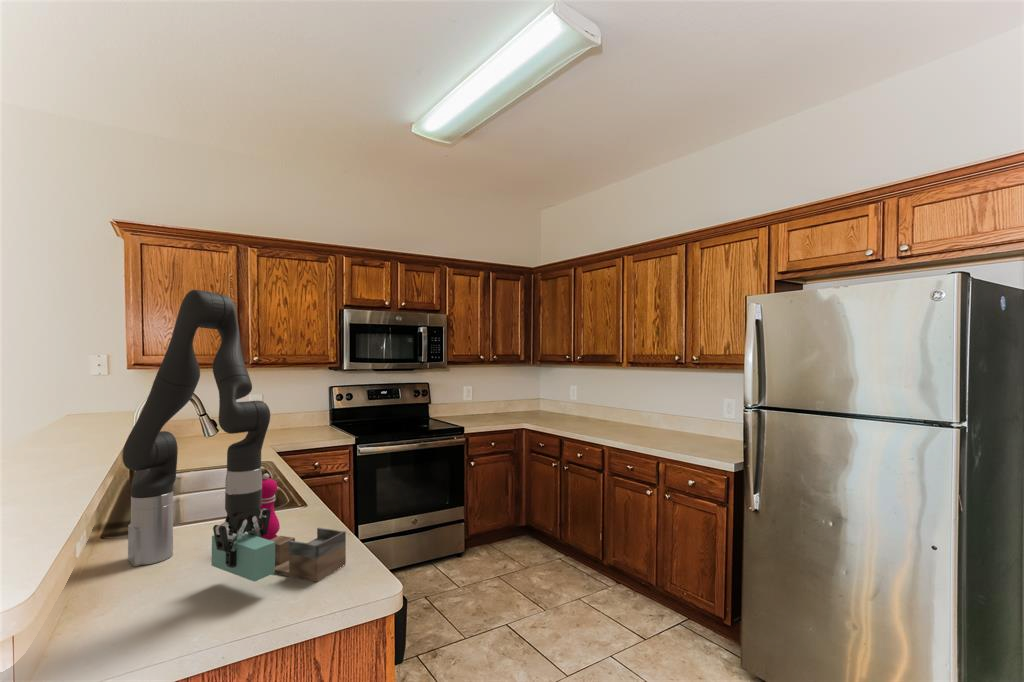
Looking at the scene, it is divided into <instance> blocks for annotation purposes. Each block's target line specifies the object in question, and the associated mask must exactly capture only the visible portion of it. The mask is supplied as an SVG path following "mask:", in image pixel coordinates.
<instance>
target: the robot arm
mask: <svg viewBox="0 0 1024 682" xmlns="http://www.w3.org/2000/svg"><path fill="white" fill-rule="evenodd" d="M236 308H237V307H236V305H235V302H234V300H233V299H232V298H231V297H230V296H229V295H225V294H221V293H217V292H212V291H211V292H210V291H205V290H202V289H201V290H200V289H192V290H190V291H188V292H187V293H186V295H185V296H184V298H183V299H182V301H181V304H180V307H179V309H178V313H177V317H176V321H175V324H174V327H173V331H172V335H171V337H170V340H169V344H168V346H167V349H166V352H165V353H164V357H163V359H162V361H161V363H160V366H159V368H158V371H157V373H156V375H155V378H154V380H153V382H152V385H151V389H150V391H149V394H148V396H147V398H146V401H145V403H144V406H143V408H142V410H141V412H140V414H139V417H138V418H137V421H136V422H135V424H134V426H133V428H132V429H131V431H130V433H129V435H128V437H127V439H126V441H125V443H124V446H123V450H122V462H123V465H124V466H125V468H127V469H128V470H130V471H133V472H134V471H139V470H145V469H150V470H149V472H148V473H147V474H146V475H145V476H144V477H143V478H142V479H140V480H139V481H137V482H136V483H134V484H133V485H132V487H131V486H130V523H129V524H128V526H127V531H128V532H127V535H128V536H127V560H128V562H129V563H130V564H131V565H132V566H133V567H137V566H144V565H151V564H156V563H157V564H158V563H160V562H163V561H165V560H167V559H169V558H171V557H172V556H173V555H174V485H175V483H176V482H175V481H176V478H177V470H178V467H177V466H178V453H179V452H178V449H179V448H178V442H177V438H176V437H175V435H174V434H173V433H172V432H170V431H165V430H164V431H162V429H163V427H164V426H166V424H167V423H168V422H169V421H170V420H171V419H172V418H173V417H174V416H175V415H177V413H179V412H180V410H182V409H183V408H184V407H185V406H186V405H187V404H188V403H189V402H190V400H191V399H192V397H193V396H194V393H195V392H196V391H195V390H196V388H197V385H198V383H199V381H200V378H201V368H200V365H199V361H198V360H197V357H196V354H195V350H194V339H195V336H196V333H197V330H198V329H199V328H202V329H210V330H216V331H217V333H219V337H220V345H219V347H218V350H217V352H216V353H215V356H214V357H213V362H212V373H213V376H214V381H215V383H216V387H217V389H218V396H219V397H218V398H219V405H218V409H219V410H218V425H219V426H220V428H221V429H222V430H223V432H225V433H226V434H232V435H233V434H234V435H235V434H240V433H246V435H245V437H244V438H243V439H242V440H240V441H237V442H234V443H232V444H230V445H229V446H228V447H227V451H226V453H227V454H226V475H225V480H224V481H225V483H224V484H225V486H224V487H225V488H224V489H225V491H224V493H225V495H224V497H225V498H224V510H225V512H226V518H225V520H224V522H222V523H220V524H214V525H213V528H212V530H213V535H214V536H215V542H216V547H217V550H221V551H225V552H226V559H225V560H226V561H225V563H226V565H227V566H228V567H231V568H234V567H236V561H237V551H236V548H237V544H238V542H239V541H240V540H241V538H242V534H244V533H247V534H248V535H254V536H257V537H260V538H261V537H262V536H263V535H266V534H267V532H268V526H269V520H270V514H271V510H270V509H264V508H261V509H260V507H261V505H262V479H263V478H262V477H263V473H262V451H263V450H262V449H263V445H264V442H265V438H266V434H267V432H268V428H269V424H270V423H271V422H270V421H271V410H270V408H269V406H268V403H266V402H264V401H262V400H250V401H249V400H248V401H237V400H240V399H243V398H244V397H247V396H248V395H250V393H251V392H252V390H253V385H252V384H253V383H252V381H251V378H250V374H249V372H248V369H247V366H246V363H245V360H244V357H243V350H242V344H241V333H240V326H239V320H238V314H237V313H238V312H237V309H236ZM257 520H258V522H257ZM262 524H263V529H262ZM233 533H234V534H236V536H233ZM232 540H233V542H232ZM231 542H232V545H231Z"/></svg>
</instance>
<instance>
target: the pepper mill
mask: <svg viewBox="0 0 1024 682" xmlns="http://www.w3.org/2000/svg"><path fill="white" fill-rule="evenodd" d="M277 491H278V484H277V481H276V480H274V479H273V478H270V474H268V472H267V473H264V474H262V505H261V507H260V509H261V508H264V509H270V510H271V514H270V520H269V526H268V532H267V534H266V535H263V536H262V537H261V538H264V539H267V540H271V539H274V538H276V537H278V536H279V535H277V534H278V532H279V530H280V529H281V527H280V521H279V519H278V516H277V513H276V511H275V501H276V495H275V494H276V493H277ZM257 522H258V520H257ZM262 529H263V524H262Z"/></svg>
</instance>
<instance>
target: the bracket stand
mask: <svg viewBox="0 0 1024 682" xmlns="http://www.w3.org/2000/svg"><path fill="white" fill-rule="evenodd" d="M316 530H317V531H316V533H317V535H316V538H314V539H312V540H310V541H308V542H300V541H297V540H296V538H295V537H291V536H286V535H277V536H278V537H276V538H274V539H271V540H270V541H274V542H275V573H274V575H279V574H280V576H284V575H285V577H289V576H290V578H295V579H299V580H304V579H305V580H304V581H309V580H310V582H314V581H315V582H314V583H318V582H320V581H321V579H322V580H323V579H324V578H327V577H328V576H330V575H332V574H333V573H335V572H336V571H338V570H339V569H338V568H340V567H341V568H343V567H344V566H343V565H345V564H346V562H347V561H346V559H347V558H346V557H347V556H346V555H347V554H346V553H347V552H346V545H347V544H346V543H347V541H346V539H347V538H346V534H347V533H346V532H347V531H343V530H338V529H330V528H323V527H317V528H316ZM342 566H343V567H342ZM345 566H346V565H345ZM341 568H340V569H341ZM337 569H338V570H337ZM335 570H336V571H335ZM334 571H335V572H334ZM332 572H333V573H332ZM331 573H332V574H331ZM329 574H330V575H329ZM326 576H327V577H326ZM319 580H320V581H319Z"/></svg>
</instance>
